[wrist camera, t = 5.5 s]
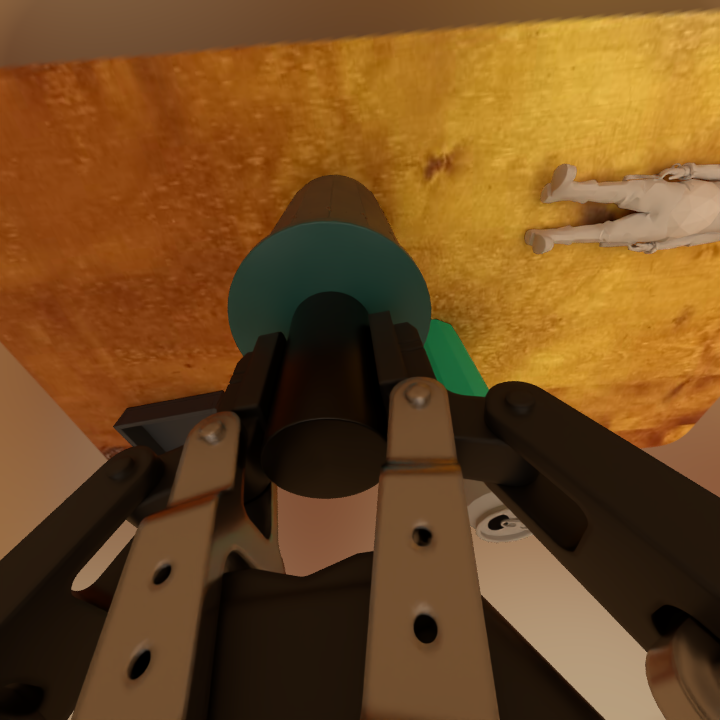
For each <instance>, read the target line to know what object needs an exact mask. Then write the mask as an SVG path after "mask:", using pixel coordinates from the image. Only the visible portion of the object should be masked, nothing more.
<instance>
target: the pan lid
mask: <svg viewBox="0 0 720 720" xmlns="http://www.w3.org/2000/svg"><path fill="white" fill-rule="evenodd" d="M388 310H389V312H390V315H391V319H392V322H393V324H398V323H404V322H408V323H410V324H411V325H412V326H414V327H415V328H417V330H418V333H419V336H420V338H421V341H422V343H423V346H424V344H425V342H426V339H427V336H428V333H429V329H430V322H431V302H430V295H429V292H428V288H427V285H426V282H425V280H424V278H423V276H422V274H421V272H420V270H419V268H418V267H417V265H416V264H415V262H414V261H413V259H412V258H411V256H410V255H409V254H408V253H407V252H406V251H405V250H404V249H403V247H402V246H400V245H399V244H398V243H397V242H396V241H394V240H393V239H392V238H391V237H389V236H387V235H386V234H384V233H383V232H381V231H379V230H377V229H375V228H373V227H370V226H368V225H366V224H363V223H359V222H356V221H352V220H347V219H340V218H315V219H308V220H302V221H299V222H296V223H292V224H289V225H287V226H285V227H282V228H280V229H278V230H276V231H274V232H273V233H271V234H270V235H268V236H267V237H265V238H264V239H262V240H261V241H260V242H259V243H258V244H257V245H256V246H255V247H254V248H253V249H252V250H251V251H250V252H249V254H248V255H247V256H246V257H245V259H244V260H243V261H242V263H241V265H240V266H239V268H238V270H237V272H236V273H235V276H234V278H233V281H232V284H231V286H230V291H229V297H228V318H229V325H230V328H231V332H232V335H233V338H234V340H235V342H236V345H237V347H238V348H239V350H240V352H241V353H242V355H243V356H244V355H245V354H246V353H247V352H252V351H253V350H254V347H255V344H256V342H257V339H258V337H259V336H260V335H265V334H270V333H275V332H282V333H283V334H284V336H285V338H286V341H287V343H286V347H285V352H284V356H283V360H282V364H281V368H280V372H279V377H278V381H277V385H276V389H275V393H274V398H273V402H272V406H271V410H270V414H269V418H268V423H267V427H266V431H265V435H264V439H263V444H262V448H261V452H260V463H261V466H262V469H263V471H264V473H265V475H266V476H267V477H268V478H269V479H270V480H271V481H272V482H273V483H274V484H276V485H277V486H278V487H280V488H282V489H284V490H286V491H288V492H290V493H294V494H296V495H300V496H305V497H310V498H319V499H320V498H321V499H331V498H341V497H347V496H351V495H355V494H358V493H361V492H363V491H366V490H368V489H370V488H371V487H373V486H375V485H376V484H378V483H379V476H380V469H381V466H382V464H385V463H386V453H387V436H388V420H387V414H386V411H385V409H384V406H383V401H382V396H381V391H380V387H379V381H378V375H377V369H376V362H375V356H374V350H373V343H372V337H371V331H370V324H369V318H368V314H373V313H378V312H383V311H388Z"/></svg>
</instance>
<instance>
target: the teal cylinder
mask: <svg viewBox="0 0 720 720" xmlns="http://www.w3.org/2000/svg"><path fill="white" fill-rule="evenodd" d="M315 218H340V219H347V220H352V221H356V222H359V223H363V224H366V225H368V226H370V227H373V228H375V229H377V230H379V231H381V232H383V233H384V234H386V235H387V236H389V237H391V238H392V239H393V240H394V241H396V242H397V243H398V241H397V239H396V237H395V235H394V233H393V231H392V229H391V227H390V225H389V223H388V221H387V219H386V217H385V215H384V213H383V211H382V209H381V208H380V206H379V204H378V202H377V200H376V199H375V197H374V195H373V193H372V192H371V191H369V190H368V189H367V188H366V187H365V186H364V185H362V184H361V183H359V182H358V181H356V180H354V179H352V178H349V177H346V176H340V175H328V176H322V177H319V178H316V179H314V180H312V181H311V182H309V183H308V184H306V185H305V186H304V187H303V188H302V189H301V190H299V191H298V192H297V193H296V195H295V196H294V198H293V199H292V201H291V202H290V204H289V206H288V207H287V209H286V210H285V212H284V213H283V215H282V216H281V218H280V220H279V221H278V223H277V224H276V226H275V227H274V229H273V230H272V232H271V233H273V232H274V231H276V230H278V229H280V228H282V227H285V226H287V225H289V224H292V223H296V222H299V221H302V220H308V219H315ZM398 244H399V243H398Z"/></svg>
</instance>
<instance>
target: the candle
mask: <svg viewBox="0 0 720 720" xmlns="http://www.w3.org/2000/svg"><path fill="white" fill-rule="evenodd" d="M424 348H425V351H426V354H427V356H428V359H429V361H430V364H431V366H432V369H433V372H434V374H435V377H436V379H437V381H439V382H440V383H441V384H443V385H444V387H445V388H446V389H447V390H449V391H451V392H453V393H456V394H460V395H467V396H481V397H486V394H487V392H488V391H489V389H488V387H487V385H486V384H485V382H484V380H483V378H482V377H481V375H480V373H479V371H478V370H477V368H476V366H475V364H474V362H473V361H472V359H471V357H470V355H469V354H468V352H467V350H466V348H465V347H464V345H463V343H462V341H461V340H460V338H459V336H458V335H457V333H456V332H455V330H454V329H453V327H452V326H451V325H450V324H448V323H445V322H442V321H440V320H437V319H434V320H431V322H430V329H429V333H428V336H427V339H426V342H425V344H424Z"/></svg>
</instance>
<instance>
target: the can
mask: <svg viewBox="0 0 720 720" xmlns="http://www.w3.org/2000/svg"><path fill="white" fill-rule="evenodd" d="M463 482H464V488H465V495H466V502H467V508H468V515H469V521H470V526H471V527H473V528H474V529H476V535H477V536H478V537H479V538H480V539H482V540H485V541H488V542H494V543H504V542H505V543H506V542H512V541H517V540H521V539H524V538H527V537H529V536H532V535H533V534H532V533H531V532H530V531H529V530H528V528H527V527H526V526H525V525H524V524H523V523H522V522H521V521H520V520H519V519H518V518H517V517H516V516H515V515H514V514H513V513H512V512H511V511H510V510H509V509H508V508H507V507H506V506H505V505H504V504H503V503H502V502H501V501H500V500H499V498H498V497H497V496H496V495H495V494H494V493H493V492H492V491H491V490H490V489H489V488H488V487H487V486H486V485H485V483H484V482H482V481H475V480H469V479H463Z"/></svg>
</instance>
